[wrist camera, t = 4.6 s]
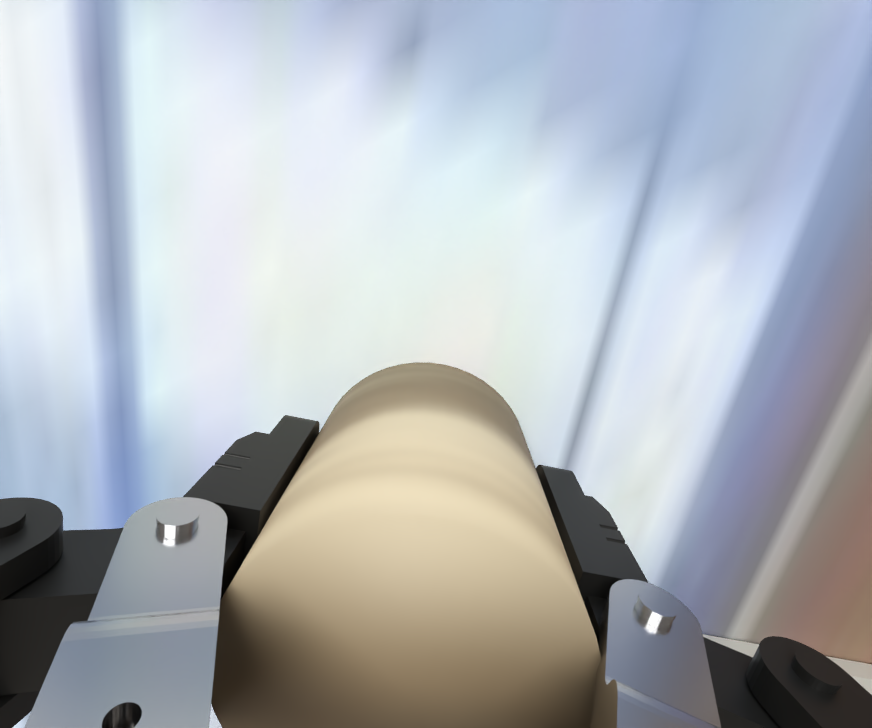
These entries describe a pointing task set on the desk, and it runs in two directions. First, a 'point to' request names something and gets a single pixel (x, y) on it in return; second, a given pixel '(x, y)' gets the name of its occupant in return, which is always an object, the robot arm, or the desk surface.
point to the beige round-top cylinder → (409, 576)
